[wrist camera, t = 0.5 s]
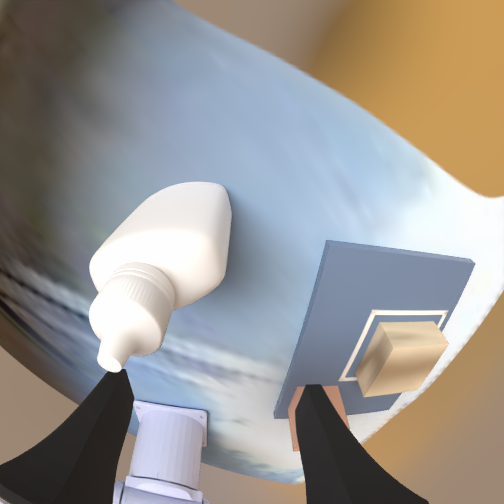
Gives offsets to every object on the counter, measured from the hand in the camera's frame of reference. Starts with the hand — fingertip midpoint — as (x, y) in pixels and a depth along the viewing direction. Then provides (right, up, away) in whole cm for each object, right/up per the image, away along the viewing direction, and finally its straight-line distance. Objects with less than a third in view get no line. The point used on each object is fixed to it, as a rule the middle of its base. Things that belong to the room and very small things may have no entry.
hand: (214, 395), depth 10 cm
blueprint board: (+12, -3, +13) cm, 18 cm away
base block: (+14, -3, +12) cm, 19 cm away
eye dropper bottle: (-3, +8, +7) cm, 11 cm away
